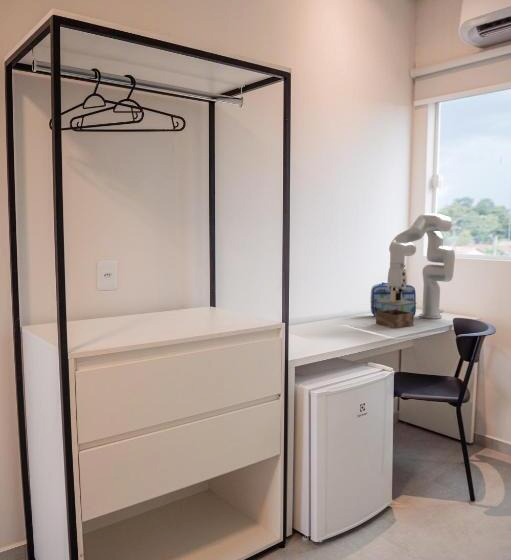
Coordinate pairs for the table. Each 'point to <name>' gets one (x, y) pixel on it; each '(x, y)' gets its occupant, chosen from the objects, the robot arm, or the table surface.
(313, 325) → the table surface
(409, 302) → the lid
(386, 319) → the walnut box
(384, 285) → the lunch box
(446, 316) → the table surface
